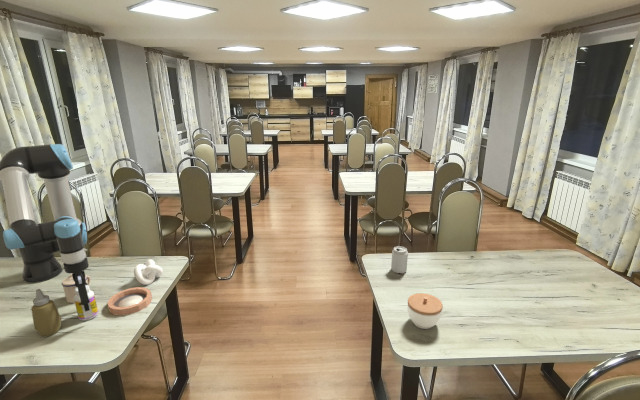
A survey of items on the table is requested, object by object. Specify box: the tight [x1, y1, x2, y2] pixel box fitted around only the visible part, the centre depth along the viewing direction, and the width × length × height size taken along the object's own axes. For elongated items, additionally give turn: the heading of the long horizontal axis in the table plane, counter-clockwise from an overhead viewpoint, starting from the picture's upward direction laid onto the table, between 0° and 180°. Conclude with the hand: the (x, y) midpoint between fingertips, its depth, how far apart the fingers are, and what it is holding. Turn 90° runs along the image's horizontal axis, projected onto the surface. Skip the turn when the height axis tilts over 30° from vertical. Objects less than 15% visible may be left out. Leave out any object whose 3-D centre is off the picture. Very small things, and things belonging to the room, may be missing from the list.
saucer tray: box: [107, 286, 153, 316], centre depth 146 cm, size 16×16×3 cm
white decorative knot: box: [133, 258, 164, 286], centre depth 162 cm, size 11×12×9 cm
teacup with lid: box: [61, 273, 91, 304], centre depth 150 cm, size 12×9×12 cm
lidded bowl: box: [407, 293, 443, 330], centre depth 131 cm, size 13×13×11 cm
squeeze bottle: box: [31, 288, 62, 337], centre depth 127 cm, size 8×8×18 cm
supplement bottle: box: [74, 284, 99, 322], centre depth 136 cm, size 7×7×13 cm
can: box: [390, 245, 409, 274], centre depth 169 cm, size 8×8×12 cm
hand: (87, 309), depth 137 cm, fingers open, 12 cm apart
